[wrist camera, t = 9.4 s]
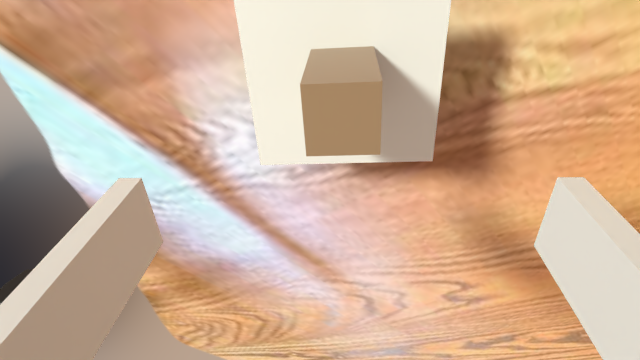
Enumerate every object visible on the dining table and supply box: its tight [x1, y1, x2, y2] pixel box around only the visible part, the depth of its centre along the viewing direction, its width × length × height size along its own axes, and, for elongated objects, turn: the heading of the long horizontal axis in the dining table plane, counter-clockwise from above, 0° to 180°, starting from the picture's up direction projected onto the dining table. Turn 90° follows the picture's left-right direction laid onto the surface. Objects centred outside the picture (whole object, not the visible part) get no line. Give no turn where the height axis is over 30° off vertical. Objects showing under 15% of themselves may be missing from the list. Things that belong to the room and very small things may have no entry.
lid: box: [234, 0, 451, 165], centre depth 23 cm, size 13×13×8 cm
